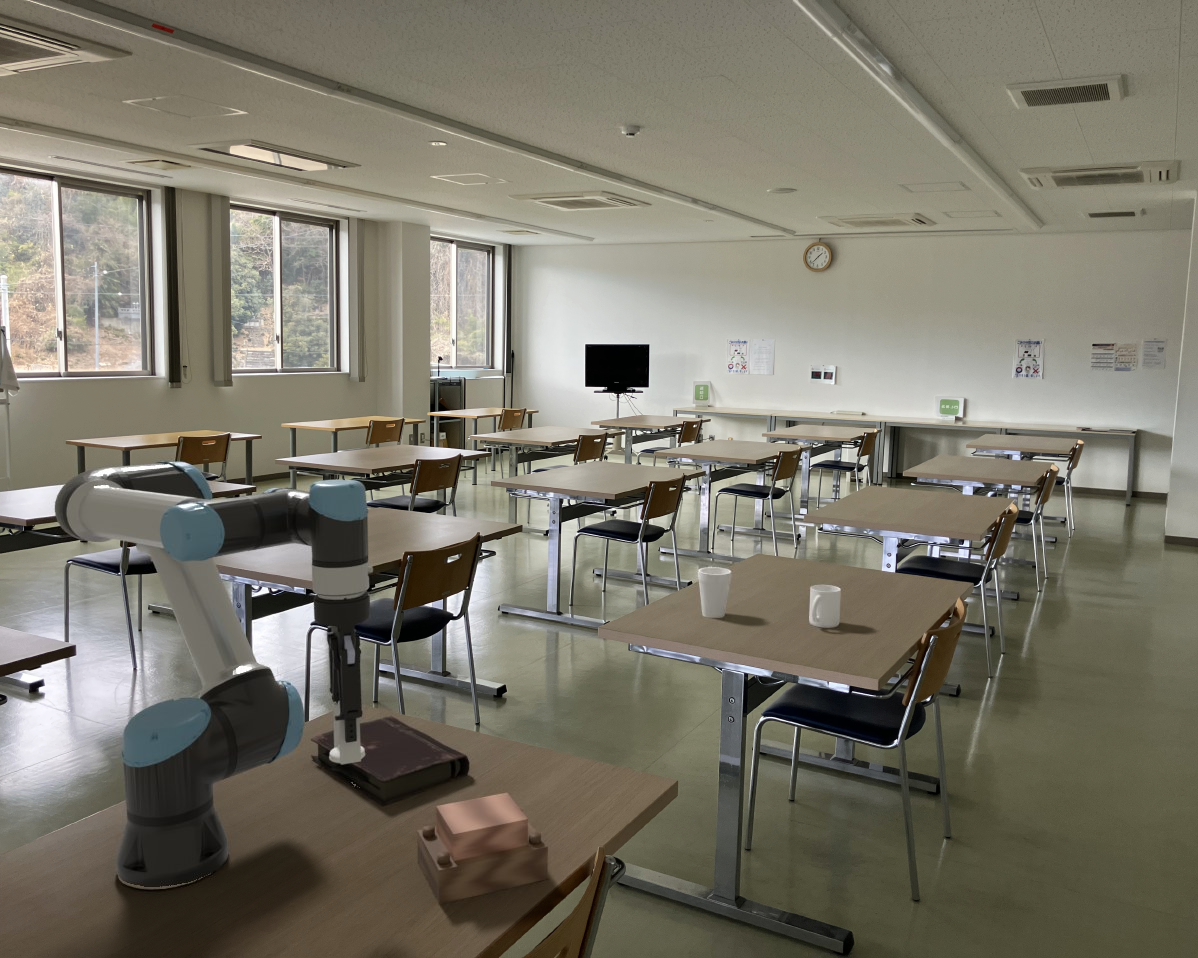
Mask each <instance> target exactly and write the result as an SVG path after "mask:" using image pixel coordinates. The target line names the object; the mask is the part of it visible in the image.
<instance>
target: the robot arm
mask: <svg viewBox="0 0 1198 958" xmlns="http://www.w3.org/2000/svg"><path fill="white" fill-rule="evenodd" d="M54 513H55V517H56V521H57V522H58V525H59V526H60V528H61V529H62V530H63V531H64V532H65V533H67V534H68V535H69V536H71V537H73V538H76V539H78V540H82V541H86V542H91V543H103V542H108V541H111V540H117V541H124V542H127V543H133V544H134V545H135V547H136V550H137V551H138V552H139V553H140V554H143V555H146V556H149V557H150V558H151V560H152V562H153V565H154V568H155V569H156V572H157V575H158V577H159V579H160V582H161V585H162V587H163V589H164V592H165V594H166V598H167V599H168V602H169V605H170V607H171V610H172V612H173V615H174V617H175V619H176V621H177V624H178V626H179V629H180V631H181V634H182V637H183V639H184V641H185V644H186V646H187V649H188V651H189V653H190V657H191V658H192V661H193V664H194V666H195V668H196V670H197V671H196V672H197V674H198V677H199V679H200V681H201V683H202V689H201V691H200V693H199V695H198V697H180V698H179V699H168V700H164V701H161V702H158V703H155V704H152V705H150V706H148V707H145V708H144V709H142V710H141V711H139V712H138V713H136V714H134V715H133V716H132V717H131V718H130V719H129V720H128V723H127V724H126V726H125V727H124V729H123V735H122V750H121V760H122V761H123V763H122V764H123V777H124V791H125V806H126V823H125V826H124V831H123V833H122V836H121V837H122V838H121V840H120V843H119V847H118V850H117V852H116V853H117V855H116V858H115V869H116V871H117V872H116V876H117V875H118V876H119V877H120V878H121V879H122V880H123V881H125V882H127V883H130V884H134V885H140V886H144V887H160V886H161V887H162V886H169V885H170V886H171V885H177V884H182V883H188V882H191V881H194V880H196V879H197V880H198V879H199V878H201V877H204V876H206V875H208V874H210V873H212V872H213V871H215V870H216V871H218V870H220V869H221V867H222V866H223V865H224V864H225V863H226V861H227V860H228V856H229V839H228V835H227V833H226V831H225V828H224V827H223V823H222V821H221V819H220V817H219V815H218V812H217V810H216V807H215V805H214V804H215V803H214V784H215V783H218V782H220V781H223V780H226V779H229V778H231V777H234V776H236V775H239V774H243V773H244V772H247V771H250V770H252V769H254V768H258V767H260V766H264V765H266V764H268V765H269V764H272V763H274V762H275V761H277V760H279V759H281V758H284V757H285V756H288V755H290V754H291V753H292V752H294V751H295V749H297V747H298V745H299V744H300V742H301V740H302V737H303V734H304V727H305V709H304V708H305V707H304V703H303V700H302V697H301V695H300V693H299V690H298V689H297V688H296V687H295V686H294V685H292V683H291V682H289V681H287V680H281V679H279V680H276V678H275V675H274V673H273V671H272V669H271V667H269V666H266V665H264V664H262V663H261V664H260V663H259V662H258V661H257V659H256V656H255V654H254V652H253V649H252V646H251V645H250V643H249V640H248V637H247V635H246V633H245V631H244V629H243V626H242V624H241V621H240V619H239V617H238V614H237V611H236V609H235V607H234V605H233V602H232V600H231V598H230V595H229V593H228V590H227V588H226V585H225V584H224V581H223V579H222V576H221V574H220V571H219V569H218V567H217V564H216V562H215V559H214V558H217V557H223V556H227V555H228V556H229V555H232V554H239V553H244V552H250V551H256V550H262V549H268V548H273V547H278V546H279V547H280V546H284V545H290V544H291V545H292V544H295V545H296V544H298V545H302V546H303V545H304V546H308V547H311V579H312V581H311V583H312V584H311V585H312V592H313V593H315V596H314V597H313V617H314V618H313V619H314V621H315V623H316V624H318V625H320V626H322V627H323V626H324V627H327V629H326V642H327V644H328V658H329V659H328V660H329V661H328V663H329V684H330V685H329V693H330V694H331V701H332V702H333V703H332V723H333V724H332V727H333V730H334V748H335V747H338V745H339V744H340V763H341V764H348V763H354V762H360V761H361V747H360V723H361V722H360V721H361V720H360V718H362V717H363V714H364V713H363V710H362V707H363V705H362V681H361V679H362V678H361V676H362V675H361V657H362V656H361V655H362V649H361V639H360V638H361V636H360V634H357V630H356V629H355V626H357V625H358V624H363V623H365V622H367V621H368V620H369V619H370V617H371V595H370V593H369V592H368V591H367V590H368V589H369V588H370V577H369V574H371V573H373V572H374V568H373V566H370V565H369V528H368V527H369V523H368V519H369V516H368V515H369V509H368V504H367V491H366V487H365V485H364V484H363V482H361V481H358V480H355V479H354V480H353V479H324V480H319V481H315V482H313V483H311V485H310V486H309V491H308V490H307V491H306V490H300V489H295V488H293V487H288V486H287V487H283V488H281V487H274V488H273V487H272V488H269V489H267V490H265V491H263V492H262V493H259V494H251V495H243V496H238V497H230V498H229V497H228V498H220V499H217V498H216V499H213V493H212V490H211V487H210V484H209V482H208V480H207V479H206V478H205V476H204V474H203V473H202V472H201V471H200V470H199V469H198V468H197V467H196V466H194V465H192V464H190V463H187V462H185V461H165V460H164V461H162V460H161V461H157V462H153V463H146V464H133V465H121V466H112V467H99V468H93V469H88V470H85V471H84V472H81V473H79V474H77V475H75V476H73V477H72V478H70V479H68V481H67V482H66V483H65V484H63V486H62V487H61V489H60V490H59V492H58V494H57V495H56V499H55V501H54ZM338 701H339V702H340V707H339V705H338ZM217 869H218V870H217ZM216 871H215V872H216ZM212 874H213V873H212ZM210 875H211V874H210ZM198 881H199V880H198Z"/></svg>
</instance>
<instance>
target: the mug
mask: <svg viewBox="0 0 1198 958" xmlns="http://www.w3.org/2000/svg"><path fill="white" fill-rule="evenodd" d="M809 589H810V593H809V595H810V596H809V611H808V612H809V614H808V615H809V618H808V620H809V621H808V622H809V624H810V625H811V626H813V627H816V628H817V627H818V628H821V629H830V628H831V629H833V628H836V627H838V626H839V624H840V619H841V618H840V617H841V616H840V615H841V597H842V595H841V594H842V589H841V588H840V587H838V586H835V585H831V584H830V585H829V584H816V585H812V586H810V587H809Z"/></svg>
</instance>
